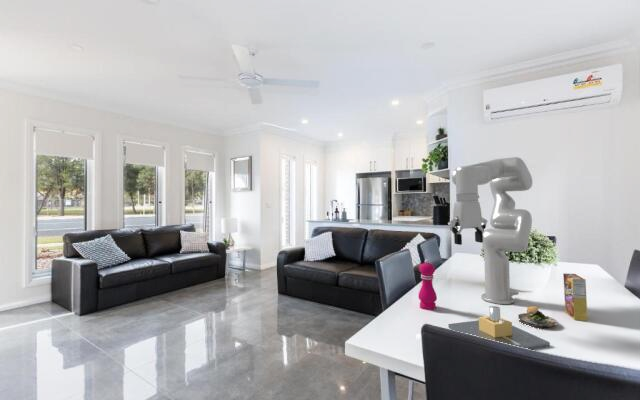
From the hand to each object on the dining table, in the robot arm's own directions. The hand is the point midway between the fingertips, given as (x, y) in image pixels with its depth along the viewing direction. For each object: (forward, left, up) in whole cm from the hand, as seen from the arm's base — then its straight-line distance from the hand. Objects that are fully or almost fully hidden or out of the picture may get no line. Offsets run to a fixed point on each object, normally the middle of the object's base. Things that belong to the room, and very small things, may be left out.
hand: (468, 243), depth 116 cm
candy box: (-37, +11, -28) cm, 48 cm away
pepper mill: (+10, -13, -28) cm, 33 cm away
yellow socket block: (+5, +17, -27) cm, 32 cm away
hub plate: (+5, +17, -28) cm, 33 cm away
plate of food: (-18, +12, -28) cm, 36 cm away
